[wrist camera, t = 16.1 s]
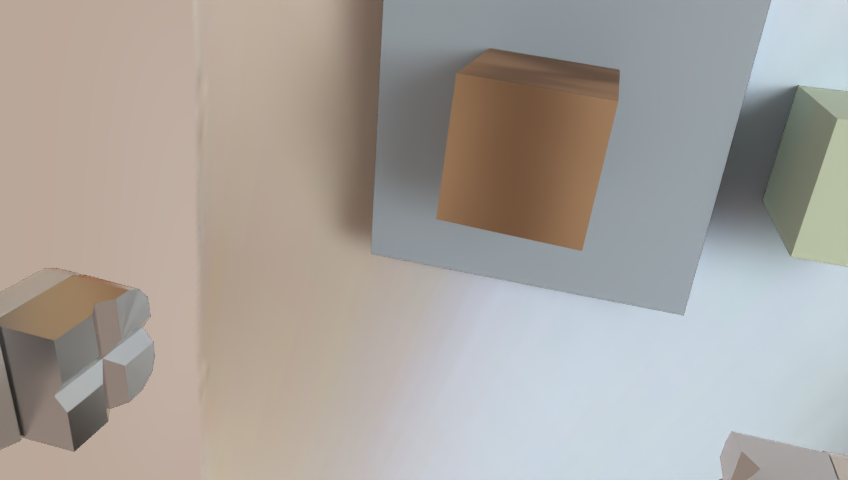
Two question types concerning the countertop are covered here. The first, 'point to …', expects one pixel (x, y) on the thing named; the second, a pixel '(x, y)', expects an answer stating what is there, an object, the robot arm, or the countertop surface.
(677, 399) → the countertop surface
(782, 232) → the sage block
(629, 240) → the slate base block
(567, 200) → the walnut block
